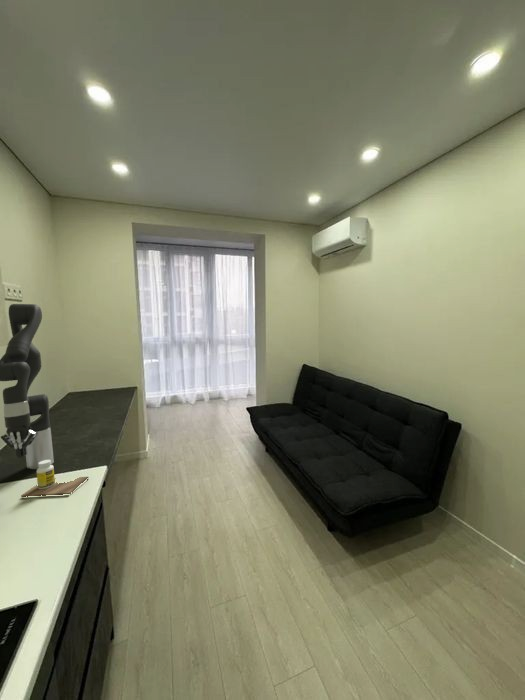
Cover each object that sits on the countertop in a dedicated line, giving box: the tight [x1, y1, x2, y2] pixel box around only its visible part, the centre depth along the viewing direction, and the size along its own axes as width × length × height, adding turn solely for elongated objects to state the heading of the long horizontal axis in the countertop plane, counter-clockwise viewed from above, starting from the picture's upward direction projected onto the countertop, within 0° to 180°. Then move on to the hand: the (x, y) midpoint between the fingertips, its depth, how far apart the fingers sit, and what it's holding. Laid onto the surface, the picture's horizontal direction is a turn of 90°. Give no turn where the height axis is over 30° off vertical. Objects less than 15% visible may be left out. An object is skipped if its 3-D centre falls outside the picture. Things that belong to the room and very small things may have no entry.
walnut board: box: [20, 476, 89, 498], centre depth 114 cm, size 18×12×1 cm, turn 91°
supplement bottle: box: [36, 460, 56, 489], centre depth 114 cm, size 5×5×10 cm
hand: (21, 457), depth 113 cm, fingers closed
